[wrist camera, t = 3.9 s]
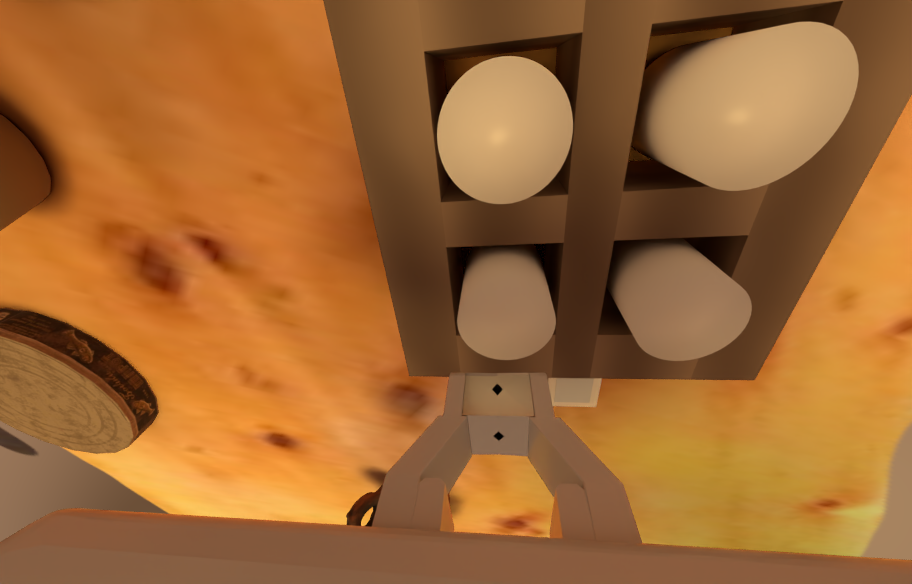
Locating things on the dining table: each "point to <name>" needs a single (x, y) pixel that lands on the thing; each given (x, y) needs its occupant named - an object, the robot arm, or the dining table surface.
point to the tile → (574, 391)
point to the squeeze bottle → (19, 174)
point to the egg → (505, 302)
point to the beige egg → (505, 130)
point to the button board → (596, 171)
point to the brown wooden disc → (69, 386)
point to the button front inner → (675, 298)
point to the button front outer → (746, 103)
